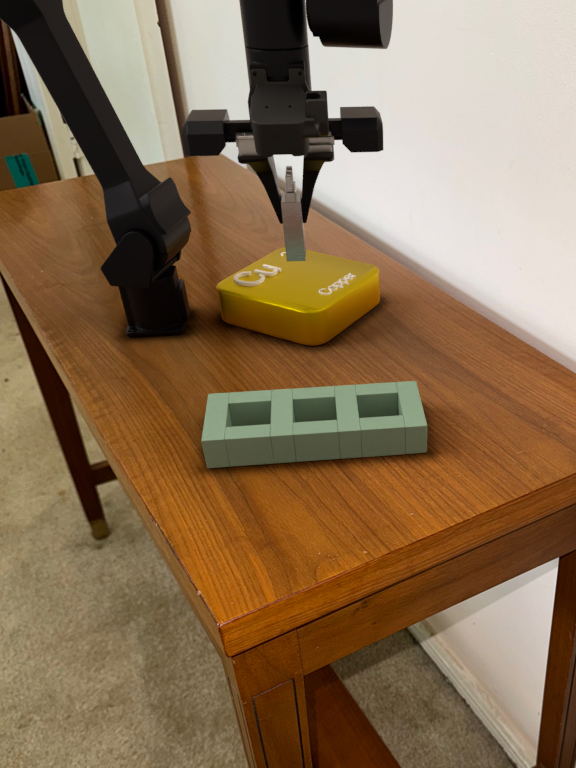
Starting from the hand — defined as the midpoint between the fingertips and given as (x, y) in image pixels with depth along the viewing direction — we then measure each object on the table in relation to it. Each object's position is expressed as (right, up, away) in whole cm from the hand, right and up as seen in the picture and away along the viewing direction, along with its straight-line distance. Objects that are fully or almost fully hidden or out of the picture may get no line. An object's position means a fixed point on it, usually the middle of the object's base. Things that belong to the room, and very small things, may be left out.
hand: (293, 222), depth 79 cm
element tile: (-1, -5, +14) cm, 15 cm away
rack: (+3, -23, -7) cm, 24 cm away
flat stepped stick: (0, -3, +2) cm, 4 cm away
